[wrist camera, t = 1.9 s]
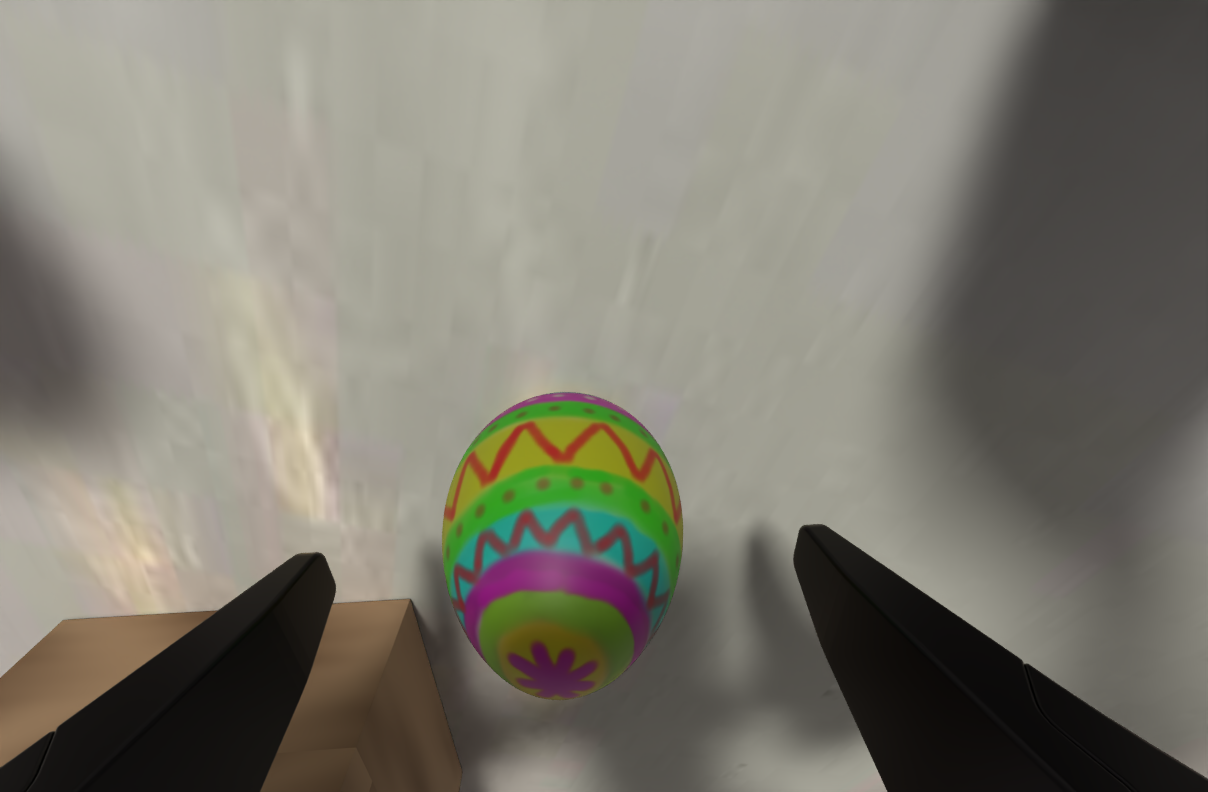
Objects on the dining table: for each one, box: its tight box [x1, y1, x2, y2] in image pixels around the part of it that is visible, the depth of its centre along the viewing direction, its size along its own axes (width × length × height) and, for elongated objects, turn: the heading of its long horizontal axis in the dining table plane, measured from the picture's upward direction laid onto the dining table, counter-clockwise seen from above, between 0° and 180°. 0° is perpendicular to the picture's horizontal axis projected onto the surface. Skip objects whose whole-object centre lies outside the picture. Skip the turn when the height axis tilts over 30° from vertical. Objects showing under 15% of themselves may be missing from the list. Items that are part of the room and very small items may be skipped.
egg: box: [442, 392, 683, 700], centre depth 10 cm, size 5×5×6 cm
